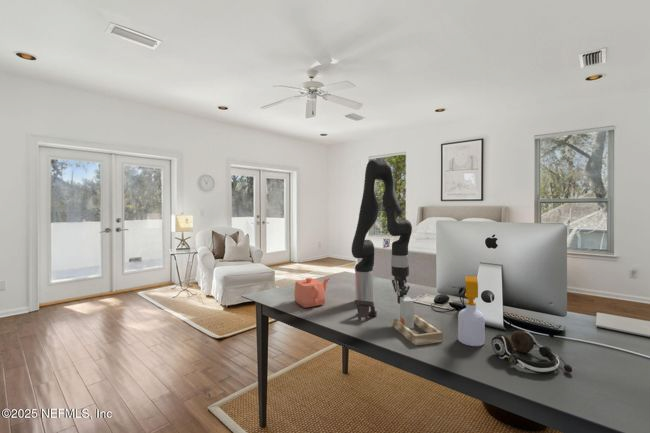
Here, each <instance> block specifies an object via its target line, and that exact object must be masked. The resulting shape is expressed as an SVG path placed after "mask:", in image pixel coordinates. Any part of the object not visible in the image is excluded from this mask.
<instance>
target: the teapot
mask: <svg viewBox="0 0 650 433" xmlns="http://www.w3.org/2000/svg"><path fill="white" fill-rule="evenodd" d="M330 279H331V277H326V278H324V280H323V282H322V281H320V280H319V279H318V280H317V279H316V278H313V277H306V278H305V279H301V280H300V279H299V280H296V281H295V283H294V296H293V297H294V301H295V303H297V304H298V305H299V306H301V307H302V308H305V309H306V308H307V309H308V308H311V307H312V308H313V307H316V306H322V305H325V302H326V290H327V284H328V281H329V280H330Z"/></svg>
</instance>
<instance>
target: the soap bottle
mask: <svg viewBox="0 0 650 433" xmlns="http://www.w3.org/2000/svg"><path fill="white" fill-rule="evenodd" d="M464 279H465V293H464V296H465V298H466V299H467V300H468V301H466V303H465V304H466V305H465V306H466V307H465V308H463V309H461V310H460V311H459V312H458V314H457V318H458V319H457V337H458V338H457V339H458V341H459V342H460V343H461V344H463V345H466V346H470V347H481V346H483V345H484V344H485V339H486V338H485V331H486V330H485V328H486V327H485V325H486V323H485V320H486V319H485V316H484V314H483V313H482V312H481V311H480V310H478V309H477V304H476V302H475V301H474V300H476V299H478V297H479V281H478V278H477V276H475V275H474V276H470V275H469V276H468V275H466V276H465V277H464Z"/></svg>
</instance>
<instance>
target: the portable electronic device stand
mask: <svg viewBox="0 0 650 433" xmlns="http://www.w3.org/2000/svg"><path fill="white" fill-rule="evenodd" d="M354 305H356V310H357V314H358V316H357V320H358V321H361V320H362V318H364V321H366V322H367V321H369V317H377V316H378V315H377V314H378V313H377V310H376V308H375V307H376V306H375V301H373V302H371V301H362V300H356V299H354Z"/></svg>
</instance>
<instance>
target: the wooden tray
mask: <svg viewBox="0 0 650 433" xmlns="http://www.w3.org/2000/svg"><path fill="white" fill-rule="evenodd" d="M391 321H392V328H394V329H395V330H396V331H398V332H399V333H400V334H401V335H402V336H404V337H405V338H406V339H407V340H408V341H409V342H411V343H412V344H413V345H414V346H421V345H429V344H435V343H443V341H444V340H443V336H444V335H443V334H444V333H443V332H442V330H439V329H438V328H436V327H435V326H433V325H432V324H430V323H429V322H427V321H426V320H424V319H423V318H421V317H420V316H419V315H417V314H414V325H416V326H417V327H418V328H419V329H421V330H422V331H423V332H425V333H418V334H416V333H415V331H413V330H412V329H409V328H408V327H406V326H405V325H404V324H402V323H401V322H400V319H399V320H398V319H397V318H396V317H392V320H391Z"/></svg>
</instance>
